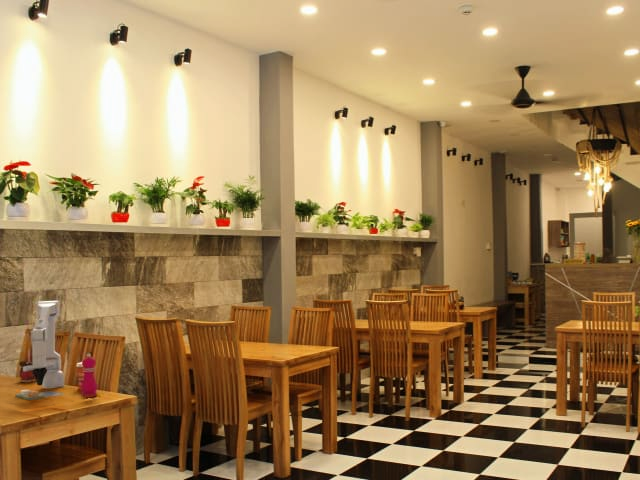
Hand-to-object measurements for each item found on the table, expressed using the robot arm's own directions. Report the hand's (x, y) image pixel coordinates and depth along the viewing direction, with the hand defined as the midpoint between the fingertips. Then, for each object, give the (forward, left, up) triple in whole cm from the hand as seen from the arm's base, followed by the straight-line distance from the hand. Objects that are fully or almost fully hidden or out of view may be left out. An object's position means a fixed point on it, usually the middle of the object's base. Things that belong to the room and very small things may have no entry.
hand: (39, 385), depth 316 cm
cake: (-21, -56, -7) cm, 60 cm away
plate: (-5, -3, -7) cm, 9 cm away
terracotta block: (+2, 0, -4) cm, 5 cm away
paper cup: (-23, -1, -7) cm, 24 cm away
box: (+3, -3, -7) cm, 8 cm away
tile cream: (+3, -6, -5) cm, 8 cm away
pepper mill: (-17, +14, -7) cm, 23 cm away
